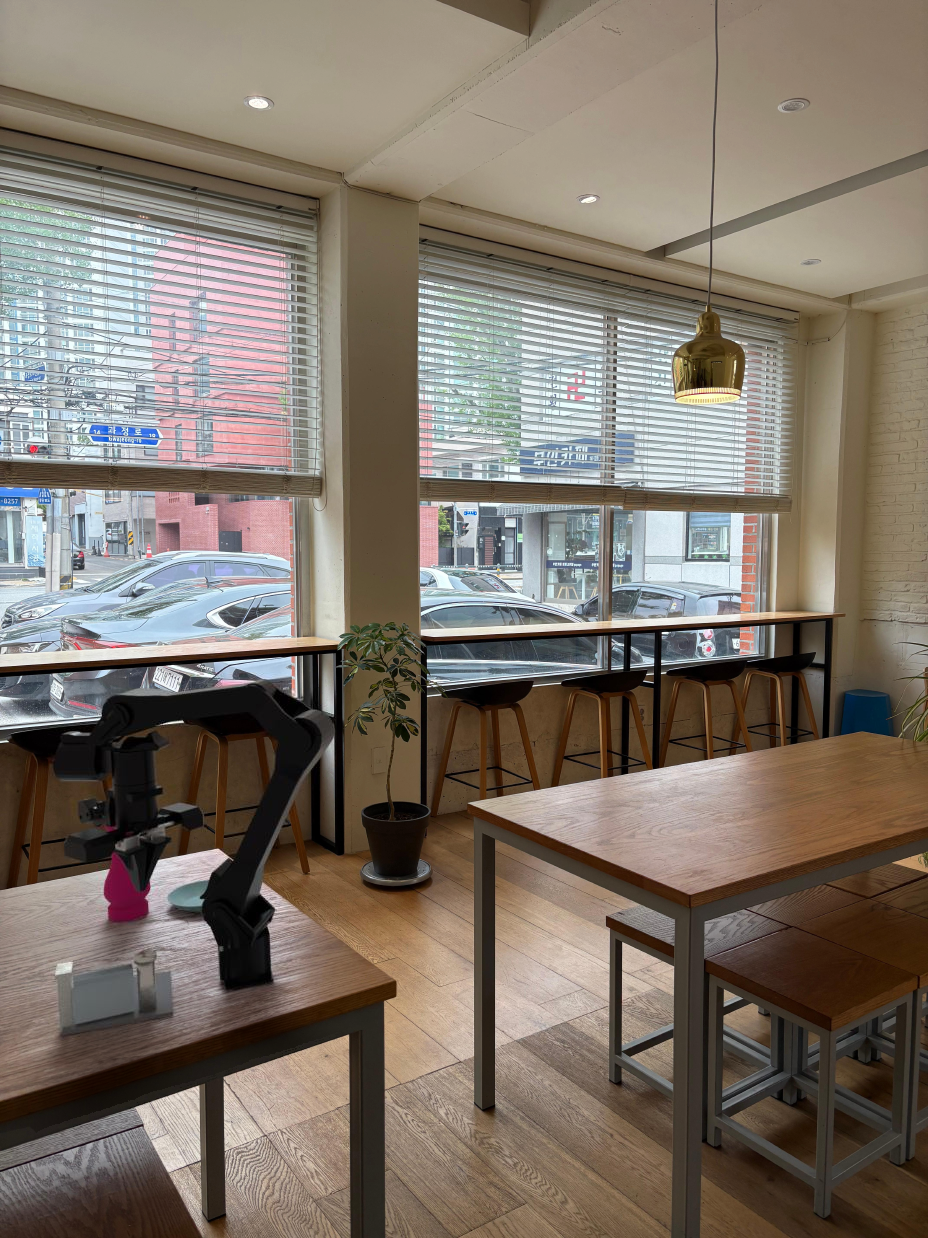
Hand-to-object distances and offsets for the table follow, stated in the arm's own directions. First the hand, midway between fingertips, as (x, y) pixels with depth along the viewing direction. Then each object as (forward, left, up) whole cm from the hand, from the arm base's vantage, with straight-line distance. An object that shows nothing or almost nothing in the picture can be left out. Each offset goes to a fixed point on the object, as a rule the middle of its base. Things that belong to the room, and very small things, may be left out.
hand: (140, 891), depth 125 cm
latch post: (+9, +12, -12) cm, 19 cm away
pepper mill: (+3, -23, -12) cm, 26 cm away
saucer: (-9, -23, -12) cm, 28 cm away
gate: (+5, +12, -11) cm, 17 cm away
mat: (+3, +8, -12) cm, 15 cm away
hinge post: (0, +12, -12) cm, 17 cm away
